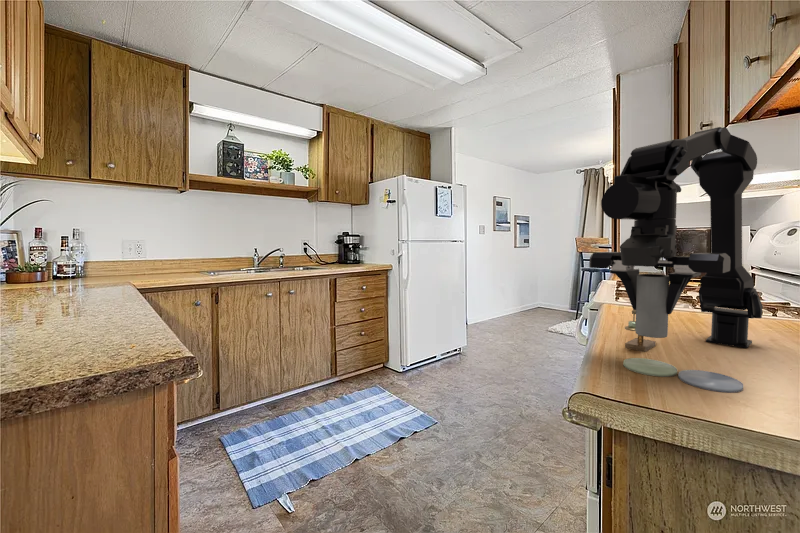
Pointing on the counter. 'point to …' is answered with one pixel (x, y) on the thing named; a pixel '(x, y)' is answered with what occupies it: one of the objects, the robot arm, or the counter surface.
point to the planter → (652, 305)
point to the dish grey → (711, 381)
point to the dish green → (650, 367)
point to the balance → (638, 342)
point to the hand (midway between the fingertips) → (651, 311)
